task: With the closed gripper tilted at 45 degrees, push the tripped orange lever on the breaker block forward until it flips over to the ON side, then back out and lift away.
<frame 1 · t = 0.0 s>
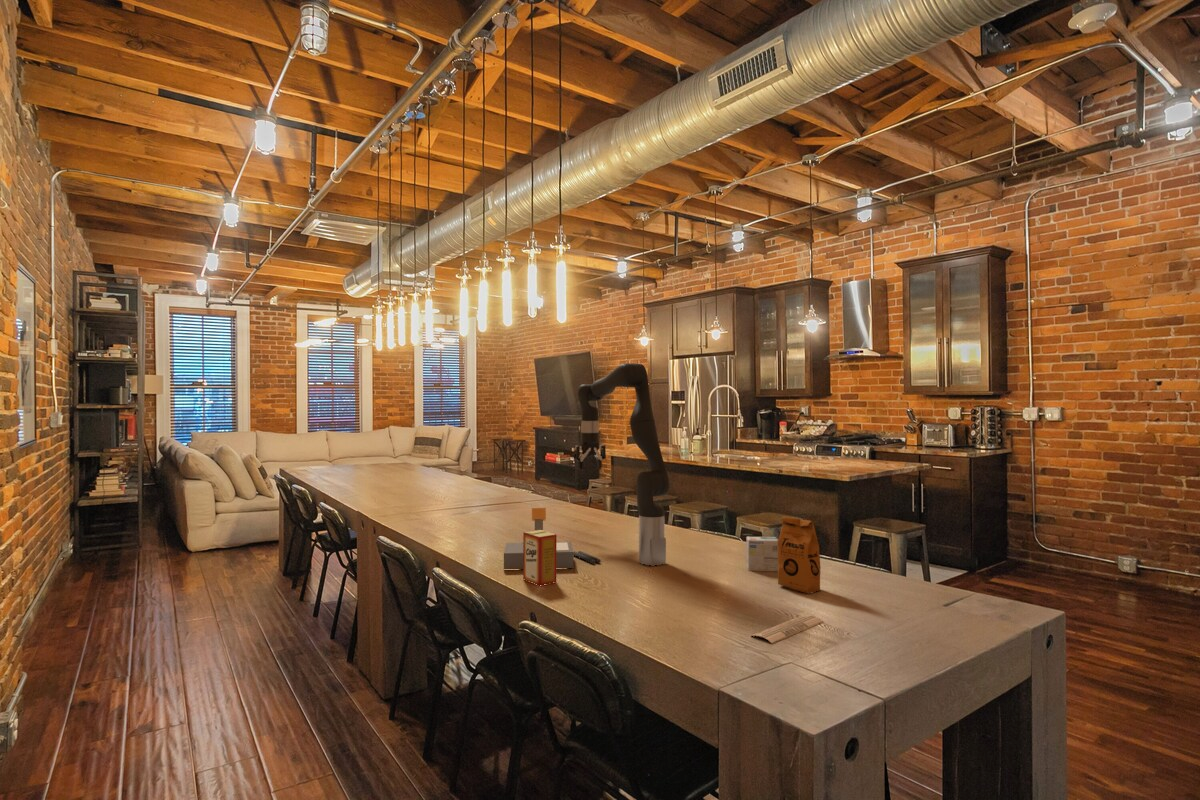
hand: (589, 469, 271), 29 cm above the table, tool pointing down, fingers open, 8 cm apart
newspaper: (789, 633, 165), on the table
coffee package: (799, 589, 201), on the table
light bulb box: (762, 569, 224), on the table
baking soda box: (539, 582, 208), on the table
breaker block: (538, 563, 230), on the table
breaker lever: (538, 526, 233), point 13 cm above the table, hinge at -25.0°
dark grey ridged bar: (588, 559, 237), on the table
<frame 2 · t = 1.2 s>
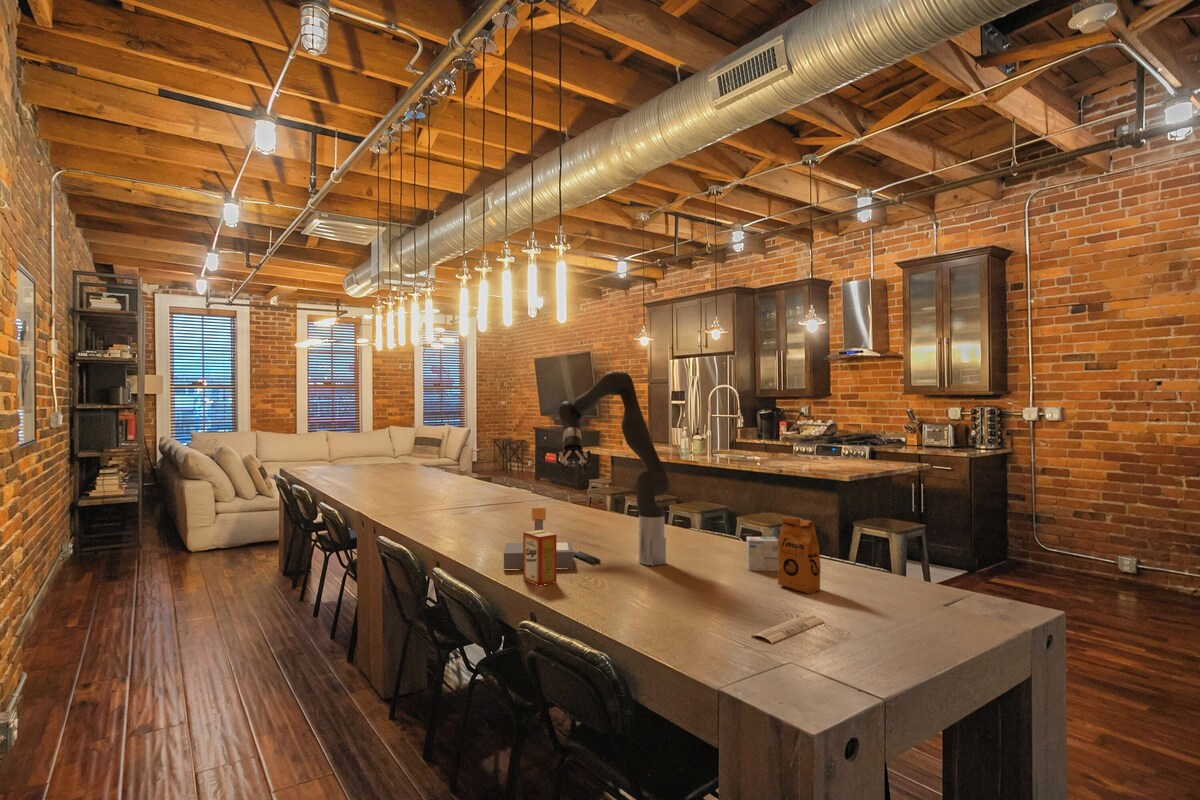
hand: (573, 472, 248), 31 cm above the table, tool tilted 45°, fingers open, 7 cm apart
nothing on the table moved.
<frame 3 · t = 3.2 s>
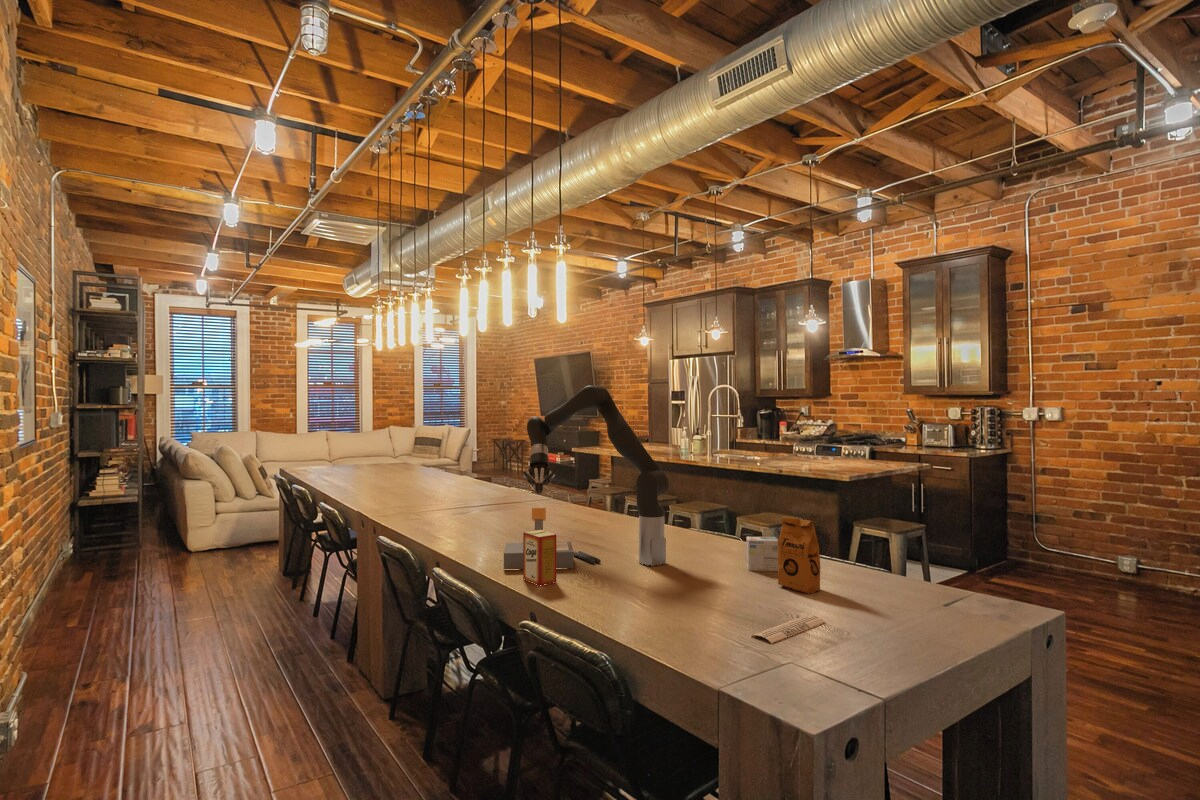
hand: (539, 492, 244), 23 cm above the table, tool tilted 45°, fingers closed
nothing on the table moved.
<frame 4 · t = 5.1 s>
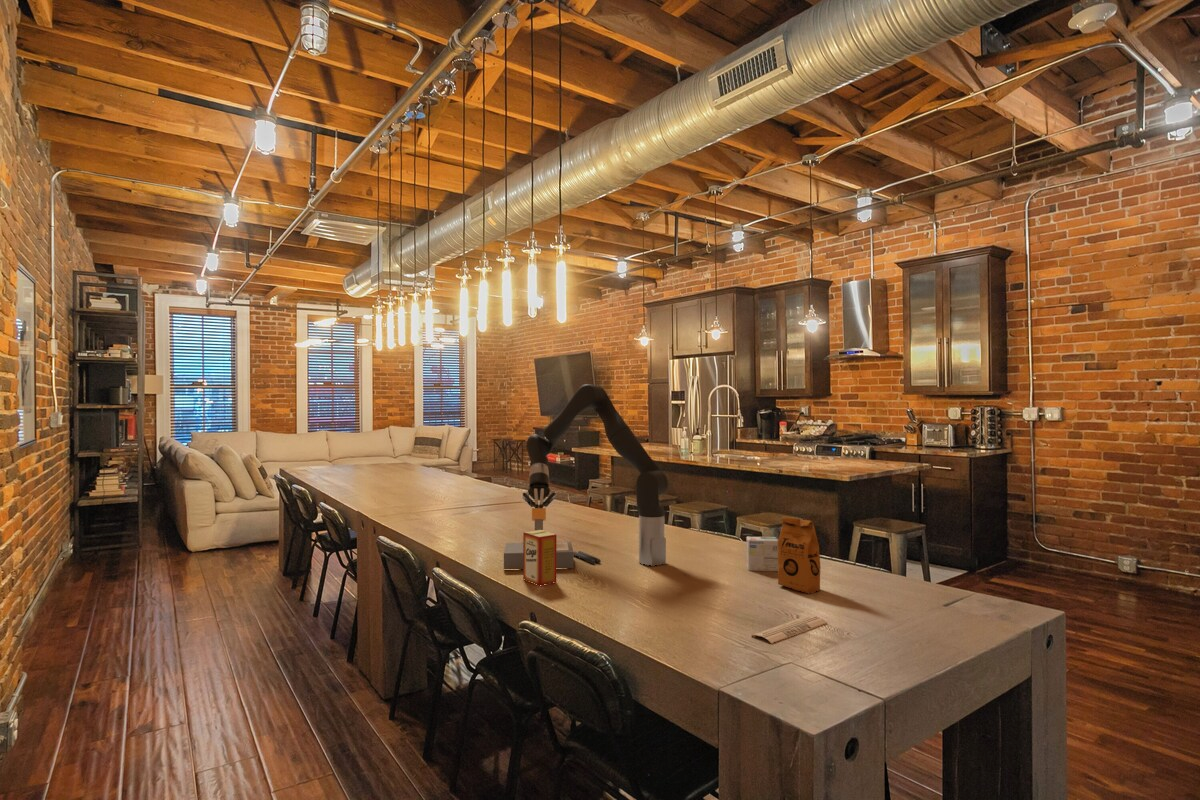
hand: (538, 514, 237), 16 cm above the table, tool tilted 45°, fingers closed
breaker lever: (538, 526, 233), point 13 cm above the table, hinge at -25.0°, touching gripper
everything else where it was.
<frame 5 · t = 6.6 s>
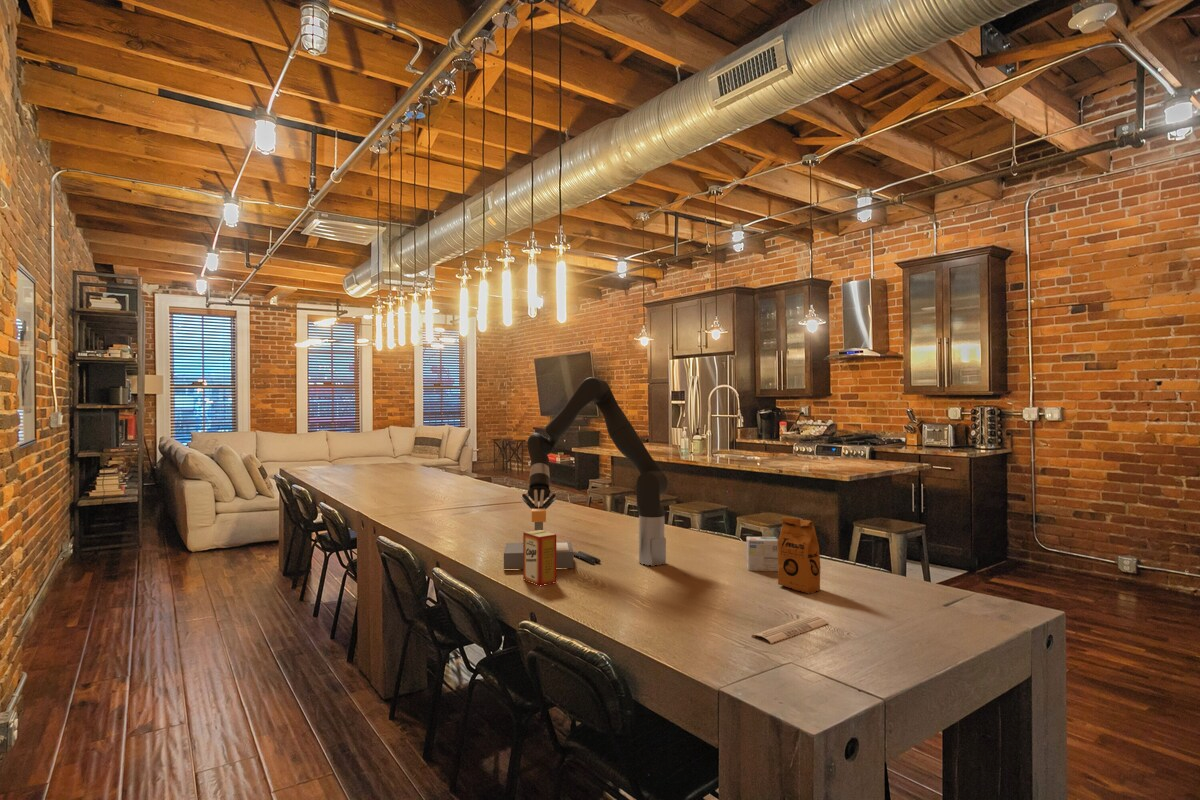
hand: (538, 517, 230), 17 cm above the table, tool tilted 45°, fingers closed
breaker lever: (538, 526, 229), point 14 cm above the table, hinge at 10.1°, touching gripper
everything else where it was.
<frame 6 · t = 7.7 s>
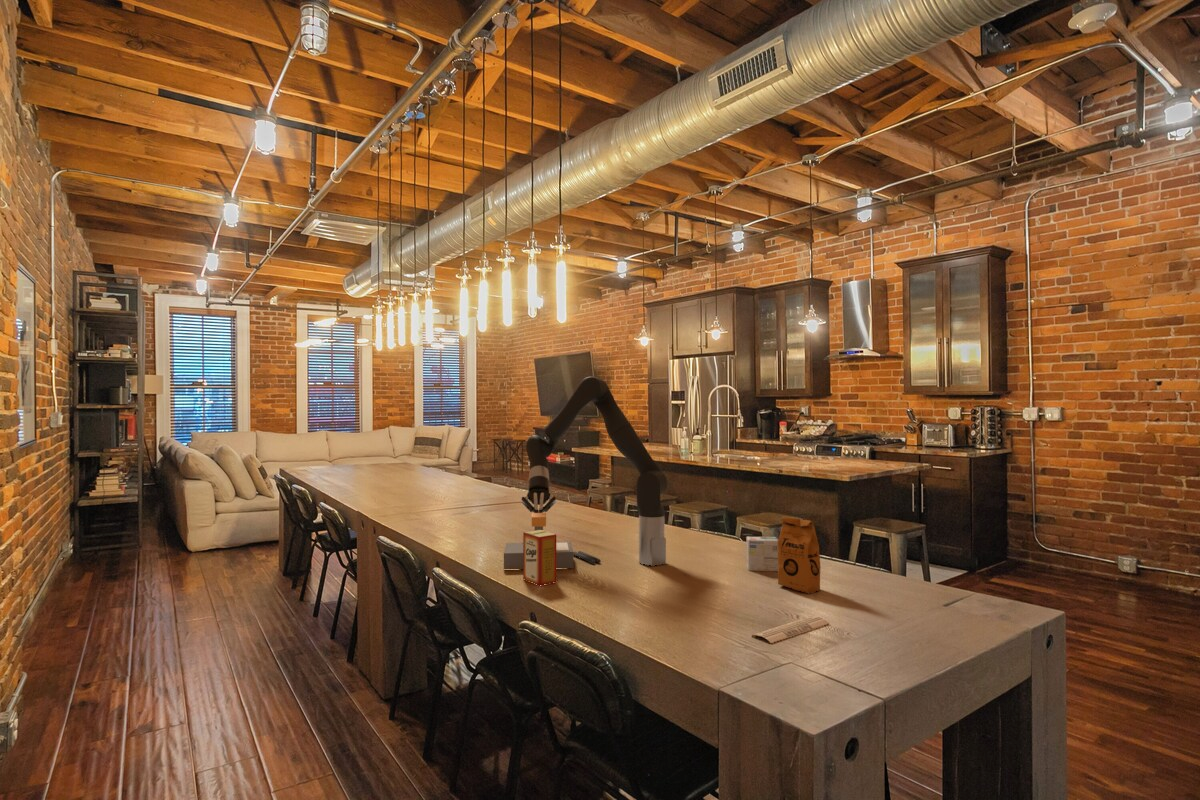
hand: (538, 520, 227), 16 cm above the table, tool tilted 45°, fingers closed
breaker lever: (538, 529, 227), point 13 cm above the table, hinge at 26.0°, touching gripper
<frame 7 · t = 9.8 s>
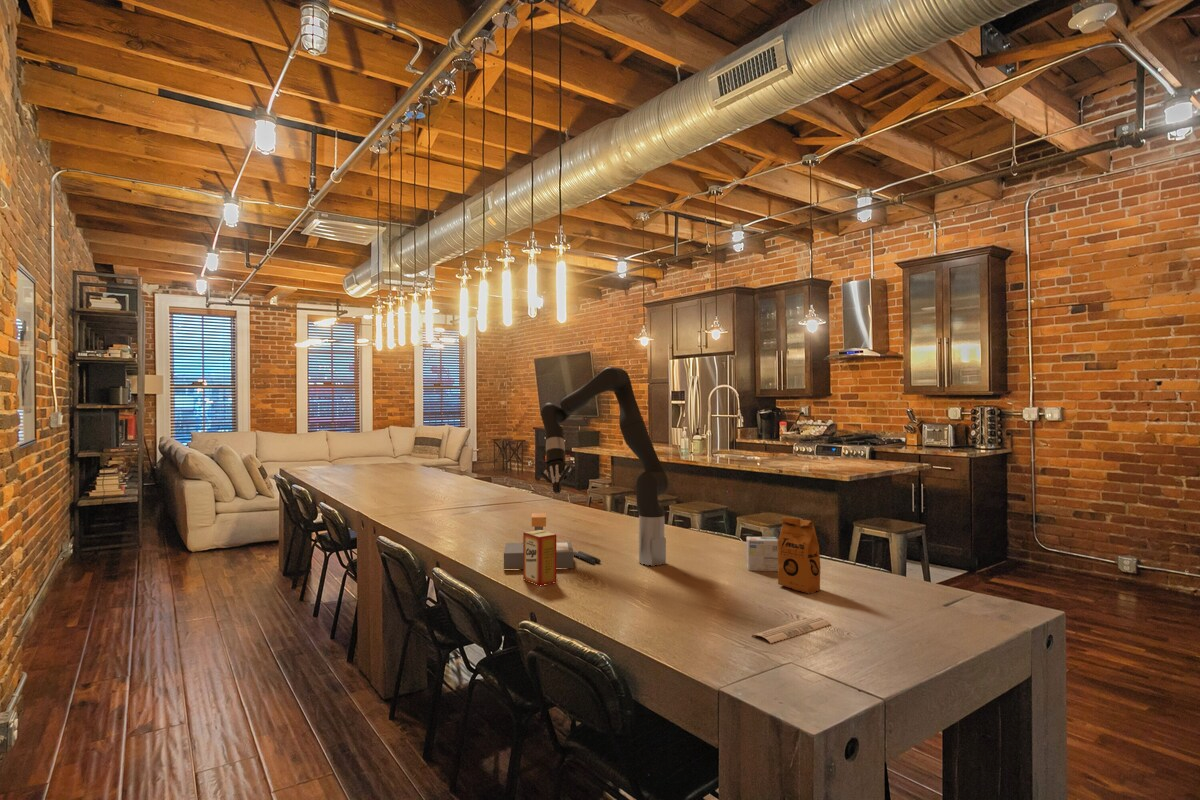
hand: (557, 493, 244), 23 cm above the table, tool tilted 30°, fingers closed
breaker lever: (538, 529, 227), point 13 cm above the table, hinge at 26.2°
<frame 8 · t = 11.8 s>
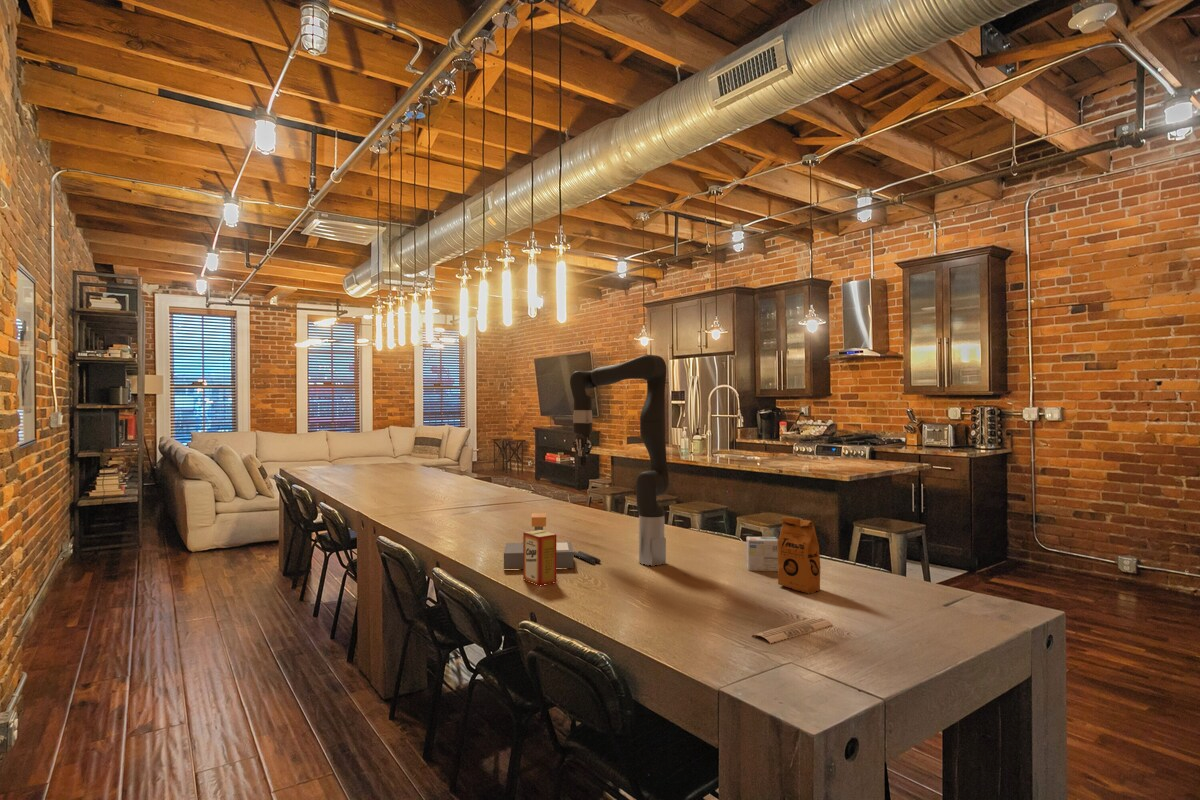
hand: (582, 465, 252), 33 cm above the table, tool pointing down, fingers closed
at the end: breaker lever at +26° (first picture: -25°) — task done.
